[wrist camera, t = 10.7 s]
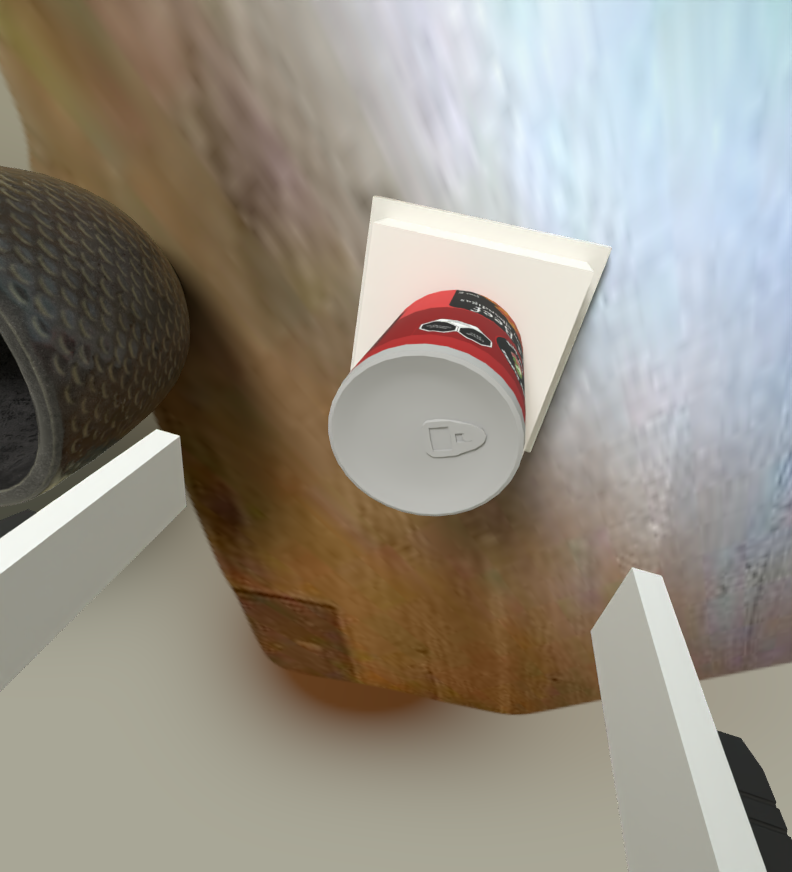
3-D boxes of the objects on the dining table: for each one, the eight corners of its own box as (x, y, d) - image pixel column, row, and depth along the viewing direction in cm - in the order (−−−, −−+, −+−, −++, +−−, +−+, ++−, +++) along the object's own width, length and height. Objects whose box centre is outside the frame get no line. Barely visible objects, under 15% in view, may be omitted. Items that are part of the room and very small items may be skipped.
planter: (257, 224, 30) (47, 262, 17) (219, 426, 40) (64, 555, 26) (24, 117, 30) (-372, 69, 17) (40, 343, 40) (-207, 429, 26)
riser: (377, 195, 28) (358, 198, 24) (608, 245, 26) (622, 255, 23) (350, 397, 35) (332, 420, 32) (530, 445, 34) (531, 475, 30)
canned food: (542, 383, 27) (554, 492, 18) (422, 425, 30) (380, 536, 21) (493, 260, 24) (477, 311, 15) (368, 320, 28) (291, 394, 18)
